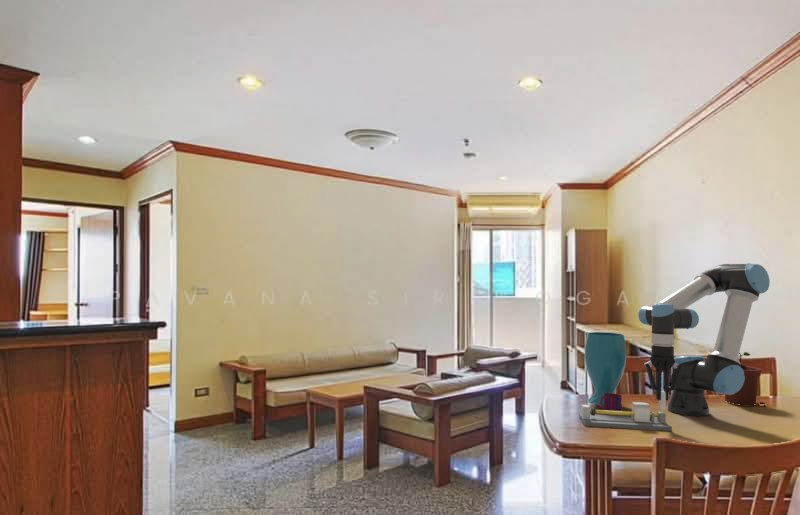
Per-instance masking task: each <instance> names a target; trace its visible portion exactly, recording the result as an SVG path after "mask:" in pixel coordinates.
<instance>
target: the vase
mask: <svg viewBox="0 0 800 515" xmlns="http://www.w3.org/2000/svg"><path fill="white" fill-rule="evenodd" d="M585 337H586V338H585V343H584V344H585V345H584V364H585V369H586V372H587V374H588V377H589V379H590V381H591V384H592V386H593V389H594V394H593V395H592V396H591V397H589V398H588V399H587V401H588V403H589V404H594V405H597V406H600V399H601V398H602V397H604V394H605V393H614V394H616V389H617V388H618V386H619V384H620V382H621V379H622V377H623V376H624V372H625V368H626V363H627V347H626V345H627V344H626V339H625V335H624V334H622V333H614V332H600V331H596V332H595V331H594V332H593V331H592V332H591V331H590V332H587V333H586V336H585ZM602 405H603V406H604V399H603V401H602ZM621 406H623V403H622V402H621Z"/></svg>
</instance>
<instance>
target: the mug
mask: <svg viewBox="0 0 800 515" xmlns="http://www.w3.org/2000/svg"><path fill="white" fill-rule="evenodd" d="M603 399H604V405H602V401H603ZM621 403H622V395H621V394H618V393H615V394H614V393H605V394H604V397H602V398H601V399H600V405H599V406H600V408H601V410H607V411H622V405H621Z"/></svg>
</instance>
